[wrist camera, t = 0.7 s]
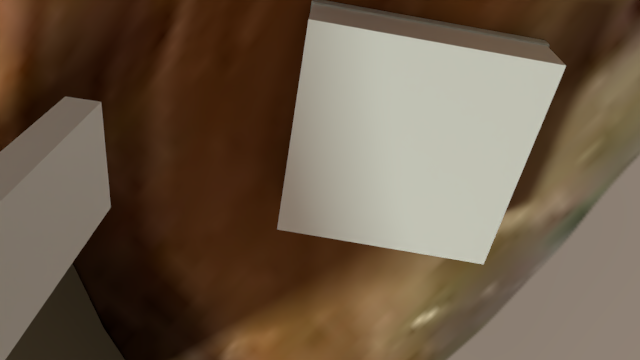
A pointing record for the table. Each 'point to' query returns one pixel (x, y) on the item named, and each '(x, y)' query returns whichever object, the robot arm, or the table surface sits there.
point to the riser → (411, 130)
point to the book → (66, 328)
